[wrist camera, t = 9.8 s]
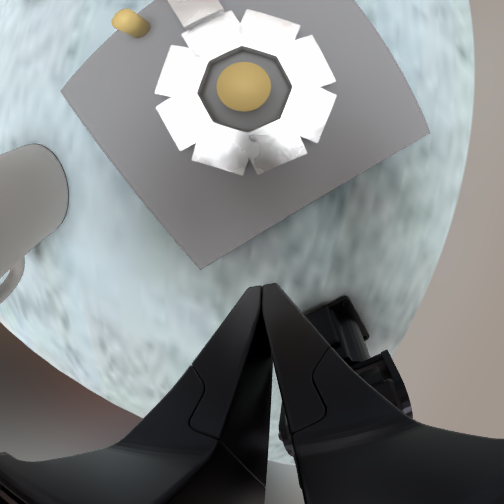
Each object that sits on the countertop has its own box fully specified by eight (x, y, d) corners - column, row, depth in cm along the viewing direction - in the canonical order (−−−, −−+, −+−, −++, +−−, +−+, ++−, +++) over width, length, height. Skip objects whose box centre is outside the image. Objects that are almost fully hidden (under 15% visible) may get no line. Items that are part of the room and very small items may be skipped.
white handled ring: (245, -52, 9) (244, -67, 7) (351, 131, 16) (363, 134, 14) (111, 14, 11) (96, 7, 9) (210, 193, 18) (204, 203, 16)
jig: (423, 131, 16) (453, 138, 13) (202, 262, 22) (193, 291, 18) (287, -59, 9) (293, -85, 6) (67, 90, 15) (36, 92, 11)
